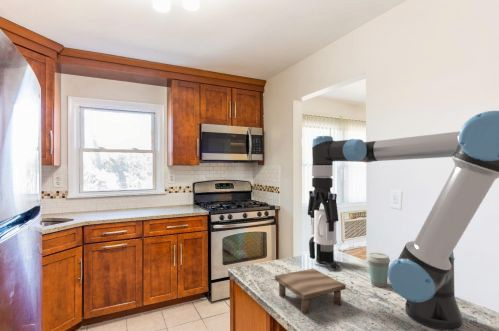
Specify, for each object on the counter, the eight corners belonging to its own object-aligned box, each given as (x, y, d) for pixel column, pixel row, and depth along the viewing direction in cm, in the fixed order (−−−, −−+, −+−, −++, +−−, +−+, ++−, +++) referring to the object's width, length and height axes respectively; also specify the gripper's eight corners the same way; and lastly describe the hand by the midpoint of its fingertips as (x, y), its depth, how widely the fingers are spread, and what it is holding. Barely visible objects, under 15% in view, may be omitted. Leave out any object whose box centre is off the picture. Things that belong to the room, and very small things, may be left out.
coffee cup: (392, 290, 107) (391, 259, 108) (368, 287, 110) (368, 257, 111) (388, 281, 116) (388, 253, 116) (366, 279, 118) (366, 251, 119)
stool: (345, 304, 96) (345, 284, 96) (303, 316, 88) (303, 294, 88) (313, 285, 112) (312, 268, 112) (275, 294, 104) (275, 275, 105)
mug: (327, 248, 96) (327, 214, 96) (305, 244, 101) (305, 211, 102) (340, 241, 105) (340, 210, 105) (319, 238, 110) (319, 208, 111)
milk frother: (323, 257, 148) (323, 230, 149) (350, 265, 136) (349, 235, 136) (306, 263, 139) (306, 234, 140) (333, 272, 127) (332, 240, 127)
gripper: (349, 178, 96) (349, 243, 96) (314, 176, 115) (313, 230, 115) (332, 178, 93) (331, 245, 93) (298, 176, 112) (298, 231, 112)
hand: (321, 237), depth 104 cm, fingers closed on mug, 8 cm apart
